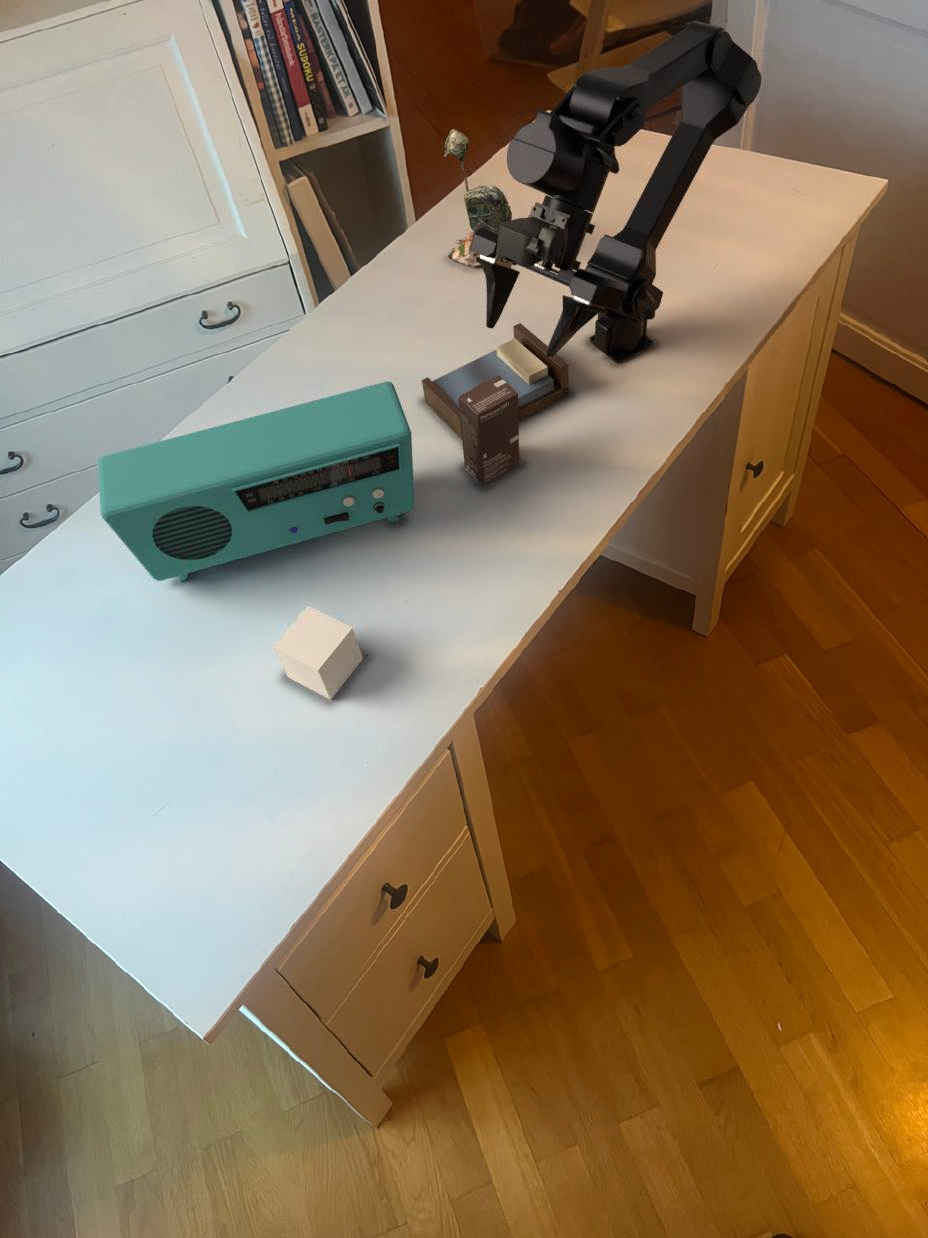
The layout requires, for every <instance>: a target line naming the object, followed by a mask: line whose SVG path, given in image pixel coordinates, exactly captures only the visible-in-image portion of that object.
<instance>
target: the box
mask: <svg viewBox="0 0 928 1238" xmlns="http://www.w3.org/2000/svg"><path fill="white" fill-rule="evenodd" d="M458 403H459V413H460V423H461V433H462V440H461V442H462V454H463V464H464V469H465V470H466V471H467V472H468V473H469V474H470V475H471V476H472V477H473V478H474V479H475V480H476V481H477V482H478V483H479V484H480V485H481V486H485V485H487V484H489V483H491V481H493V480H495V479H497V478H498V477H500V476H502V475H504V474H506V473H508V472H509V471H511V470H513V469H514V468H516V467H518V466H520V429H519V427H520V426H519V421H518V393H517V392H516V391H515V390H514V389H513V388H512V387H511V386H510V385H509V384H507V383H506V382H505V381H504V380H503V379H502V378H501V377H500V376H496V377H494V378H492V379H491V380H489V381H487V382H484V383H481V384H479V385H477V386H475V387H474V388H473V389H471V390H470V391H468V392H466V393H464V394H462V395H460V396H458Z"/></svg>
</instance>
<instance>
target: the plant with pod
mask: <svg viewBox="0 0 928 1238" xmlns="http://www.w3.org/2000/svg"><path fill="white" fill-rule="evenodd" d="M469 145H470V138H469V137H468V136H466V135H465V133H463V132H462V131H460V130H457V129H456V128H452V129H451V130H450V132H449V134H448V136H447V138H446V141H445V143H444V149H445V151H444V154H443V155H442V157H443V158H447V157H448V155H452V156H454V157H455V158H458V159H459V164H460V167H461V171H462V173H463V178H464V185H465V190H466V191H465V193H464V197H463V200H464V205H465V208H466V213H467V217H468V221H469V223H468V224H469V227H470V229H471V230H472V231H469V233H468V234H467V237H466V238H464V239H458V240H456V239H455V241H457V242H456V243H455V245H454V247H452V250H450V252H449V254H448V255H447V257H448V259H450V260H452V261H455V262H456V263H460V264H463V265H465V266H468V265H469V267H471V268H473V267H477V266H481V264H480V263H478V262H476V257H480V254H477V253H475V252H473V251H471V250H469V247H470V244H471V241H472V238H473V235H474V234H475V233H476V232H478V231H479V230H480V229H481V228H485V229H488V230H491V231H494V232H497V233H499V228H500V224H501V223H503V222H506V221H510V220H513V213H512V210H511V205H509V201H508V199H507V198H506V195H505V194H504V192H503V191H502V190H501V189H500V188H499V187H498V186H496V185H493V184H489V185H483V184H482V185H478V186H476V187H473V188H472V189H469V183H468V182H469V181H468V178H467V174H466V170H465V160H464V158H465V157H466V156H467V154H468V151H469V150H468V149H469Z"/></svg>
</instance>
